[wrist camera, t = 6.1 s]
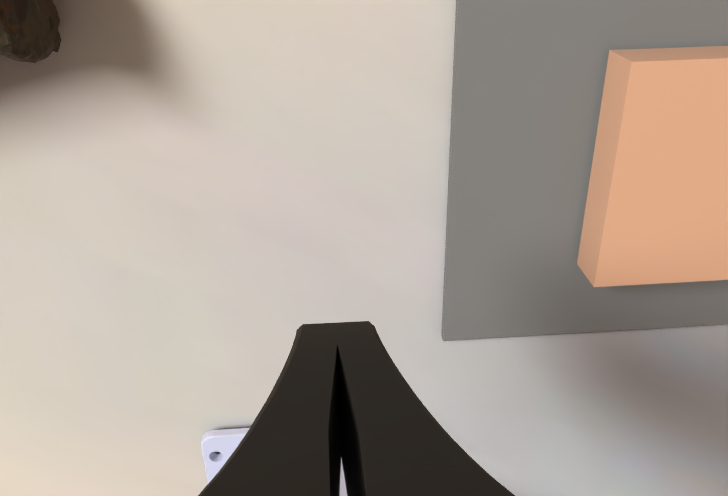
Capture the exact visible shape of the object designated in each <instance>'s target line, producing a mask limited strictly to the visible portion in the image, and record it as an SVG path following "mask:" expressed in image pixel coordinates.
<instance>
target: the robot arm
mask: <svg viewBox="0 0 728 496" xmlns="http://www.w3.org/2000/svg"><path fill="white" fill-rule="evenodd" d="M201 449H202V454H203V460H204V465H205V471H206V476H207V482H208V485H207V486H206V487H205V488H204V489H203V491H202V492H201V493H200V494H199V495H198V496H515V495H513V494H512V493H511V492H510V491H509V490H507V489H506V488H505V487H504V486H502V485H501V484H500V483H499V482H497V481H496V480H495V479H494V478H493V477H491V476H490V475H489V474H488V473H487V472H486V471H485V470H484V469H483V468H482V467H481V466H479V465H478V464H477V463H476V462H475V461H474V460H473V459H472V458H471V457H470V456H469V455H468V454H467V453H466V452H465V451H464V450H463V449H462V448H461V447H460V446H459V445H458V444H457V443H456V442H455V441H454V440H453V439H452V438H451V437H450V436H449V434H448V433H447V432H446V431H445V430H444V429H443V428H442V427H441V425H440V424H439V423H438V422H437V421H436V420H435V418H434V417H433V416H432V415H431V414H430V412H429V411H428V410H427V409H426V407H425V406H424V405H423V404H422V402H421V401H420V400H419V398H418V397H417V396H416V395H415V393H414V392H413V390H412V389H411V388H410V386H409V385H408V383H407V382H406V380H405V379H404V378H403V376H402V375H401V373H400V372H399V370H398V369H397V367H396V366H395V364H394V363H393V361H392V359H391V358H390V356H389V354H388V353H387V351H386V349H385V347H384V346H383V344H382V342H381V340H380V338H379V336H378V334H377V331H376V329H375V326H374V325H372V324H371V323H370V322H369V321H363V322H343V323H323V324H303V325H302V326H301V327H300V328H299V329H297V332H296V337H295V340H294V343H293V346H292V349H291V351H290V354H289V356H288V359H287V361H286V363H285V365H284V368H283V370H282V372H281V374H280V376H279V378H278V380H277V382H276V384H275V386H274V388H273V390H272V392H271V394H270V395H269V397H268V399H267V401H266V403H265V404H264V406H263V407H262V409H261V411H260V412H259V414H258V416H257V417H256V419H255V421H254V422H253V424H252V426H251V427H250V428H238V429H223V430H212V431H208V432H207V433H205V434H204V436H203V437H202V443H201ZM215 451H216V452H220V454H214V453H213V452H215Z"/></svg>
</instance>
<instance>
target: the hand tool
mask: <svg viewBox="0 0 728 496" xmlns="http://www.w3.org/2000/svg"><path fill="white" fill-rule="evenodd" d="M59 21H60V19H59V16H58V12H57V10H56V8H55V6H54V4H53V2H52V0H0V54H2V55H4V56H7V57H9V58H12V59H14V60H17V61H26V62H34V63H36V62H38V61H40V60H42V59H45V58H47V57H48V56H49V55H50V54H51V52H52V51H55V52H58V50H59V46H60V42H61V38H60V34H59V31H58V26H59Z"/></svg>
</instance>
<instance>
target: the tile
mask: <svg viewBox="0 0 728 496" xmlns="http://www.w3.org/2000/svg"><path fill="white" fill-rule="evenodd" d="M577 265H578V266H579V267H580V269H581V270H582V272H583V273H584V274H585V276H586V277H587V278H588V280H589V281H590V283H591V284H592V285H593V287H606V286H624V285H642V284H660V283H678V282H696V281H714V280H728V46H707V47H679V48H651V49H623V50H609V55H608V62H607V69H606V75H605V82H604V88H603V95H602V102H601V108H600V115H599V121H598V128H597V135H596V141H595V148H594V154H593V161H592V168H591V174H590V181H589V187H588V194H587V201H586V207H585V214H584V220H583V227H582V234H581V240H580V247H579V253H578V260H577Z"/></svg>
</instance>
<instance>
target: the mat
mask: <svg viewBox="0 0 728 496" xmlns="http://www.w3.org/2000/svg"><path fill="white" fill-rule="evenodd" d="M707 46H728V0H456V20H455V43H454V66H453V88H452V111H451V134H450V157H449V180H448V203H447V226H446V249H445V272H444V295H443V317H442V339H443V341H452V340H469V339H486V338H503V337H520V336H537V335H553V334H570V333H587V332H604V331H621V330H638V329H654V328H671V327H688V326H705V325H722V324H728V280H714V281H696V282H678V283H660V284H642V285H624V286H606V287H593V285H592V284H591V283H590V281H589V280H588V278H587V277H586V276H585V274H584V273H583V272H582V270H581V269H580V267H579V266H578V265H577V260H578V253H579V247H580V240H581V234H582V227H583V220H584V214H585V207H586V201H587V194H588V187H589V181H590V174H591V168H592V161H593V154H594V148H595V141H596V135H597V128H598V121H599V115H600V108H601V102H602V95H603V88H604V82H605V75H606V69H607V62H608V55H609V50H623V49H651V48H679V47H707Z"/></svg>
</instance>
